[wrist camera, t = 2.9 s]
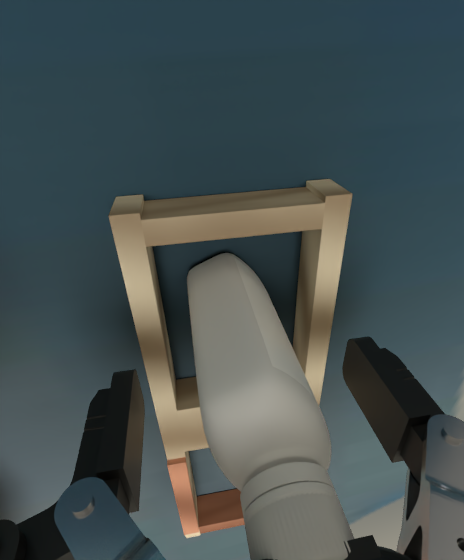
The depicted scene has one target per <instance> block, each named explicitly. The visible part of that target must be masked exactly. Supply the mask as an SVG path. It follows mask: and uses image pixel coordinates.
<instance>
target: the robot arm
mask: <svg viewBox="0 0 464 560" xmlns="http://www.w3.org/2000/svg"><path fill="white" fill-rule="evenodd" d="M343 377H344V380H345V382H346V384H347V386H348V388H349V389H350V391H351V393H352V395H353V396H354V398H355V400H356V401H357V403H358V405H359V407H360V408H361V410H362V412H363V413H364V415H365V417H366V419H367V420H368V422H369V424H370V425H371V427H372V429H373V431H374V432H375V434H376V436H377V437H378V439H379V441H380V443H381V444H382V446H383V448H384V450H385V451H386V453H387V455H388V456H389V458H390V460H391V462H392V463H394V462H399V461H405V463H406V464H407V466H408V470H407V475H406V486H405V498H404V509H403V520H402V528H401V533H400V537H399V541H398V545H397V551H394V550H391V549H388V548H384V547H379V546H377V544H376V542H375V540H374V538H373V535H371V536H366V537H361V538H357V539H352V540H348V541H347V542H348V545H349V547H350V550H351V552H350V553H349V550H348V548H347V546H346V543H345V541H344V544H345V547H346V549H347V553H348V557H347V558H346V559H344V560H464V422H463V421H462V420H460V419H458V418H456V417H453V416H450V415H446V414H445V413H444V412H443V411H442V410H441V409H440V408H439V406H438V405H437V404H436V403H435V401H434V400H433V399H432V398H431V397H430V395H429V394H428V393H427V392H426V390H425V389H424V388H423V387H422V386H421V384H420V383H419V382H418V381H417V380H416V379H414V376H413V375H412V373H411V372H410V371H409V370H407V367H406V366H405V365H404V364H403V362H402V361H401V360H400V359H399V358H398V357H397V356H396V355H395V354H393V353H392V352H390V351H389V350H387V349H386V348H382V349H380V348H379V347H378V346H377V344H376V343H375V342H374V341H373V339H372V338H371V337H361V338H354V339H349V340H348V342H347V347H346V352H345V357H344V362H343ZM144 416H145V409H144V399H143V395H142V391H141V387H140V383H139V379H138V375H137V371H136V370H135V369H134V370H127V371H120V372H114V373H113V376H112V382H111V388H109V389H102V390H99V391H98V392H97V394H96V395H95V397H94V398H93V400H92V401H91V403H90V406H89V410H88V415H87V420H86V423H85V428H84V432H83V436H82V441H81V445H80V450H79V454H78V458H77V463H76V467H75V471H74V476H73V479H72V482H71V484H70V486H69V487H68V488H67V489H66V490H65V491H64V493H63V494H62V495H61V497H60V498H59V500H58V501H57V502H56V503H55V504H54V505H52V506H51V507H50V508H48V509H46V510H44V511H43V512H41V513H39V514H37V515H35V516H33V517H31V518H29V519H27V520H25V521H23V522H21V523H19V524H17V525H16V524H15V523H14V522H12V521H10V520H0V560H165V558H164V557H163V555H162V554H161V553H160V551H159V550H158V549H157V547H156V546H155V545H154V544H153V542H152V541H151V540H150V539H149V538H146V537H145V536H144V535H143V534H142V532H141V531H140V530H139V528H138V527H137V525H136V524H135V523H134V521H133V520H132V519H131V517H130V516H129V513H130V512H136V511H139V497H140V481H141V465H142V448H143V432H144ZM262 560H273V559H262ZM275 560H276V559H275Z"/></svg>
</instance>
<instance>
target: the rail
mask: <svg viewBox="0 0 464 560" xmlns="http://www.w3.org/2000/svg"><path fill="white" fill-rule="evenodd" d="M351 200H352V193H350V192H349V191H347V190H346V189H344V188H343V187H341V186H340V185H338V184H337V183H335V182H334V181H332V180H331V179H323V180H311V181H306V187H300V188H288V189H276V190H265V191H253V192H242V193H230V194H218V195H207V196H195V197H183V198H172V199H160V200H148V201H144V197H143V195H131V196H119V197H116V198H115V201H114V203H113V206H112V208H111V211H110V214H109V220H110V224H111V228H112V232H113V236H114V241H115V245H116V249H117V253H118V257H119V261H120V265H121V270H122V274H123V278H124V282H125V286H126V290H127V295H128V299H129V303H130V307H131V311H132V315H133V319H134V324H135V328H136V332H137V336H138V340H139V344H140V349H141V353H142V357H143V361H144V365H145V369H146V373H147V378H148V382H149V386H150V390H151V394H152V398H153V403H154V407H155V411H156V415H157V419H158V423H159V427H160V432H161V436H162V440H163V444H164V448H165V452H166V457H167V466H168V470H169V474H170V478H171V482H172V486H173V490H174V495H175V499H176V503H177V507H178V511H179V515H180V519H181V523H182V527H183V531H184V535H186V538H189V537H194V536H199V535H200V534H201V533H206V532H211V531H215V530H220V529H225V528H230V527H235V526H240V525H245V523H244V518H243V512H242V506H241V500H240V494H241V491H239V490H238V489H233V490H228V491H223V492H218V493H212V494H207V495H202V496H196V490H195V485H194V479H193V473H192V468H191V462H190V457H189V451H192V450H198V449H203V448H209V445H208V443H207V439H206V436H205V432H204V428H203V423H202V417H201V411H200V403H199V395H198V386H197V378H196V377H191V378H184V379H177V380H176V378H175V372H174V366H173V361H172V355H171V349H170V344H169V338H168V333H167V327H166V321H165V316H164V310H163V304H162V299H161V293H160V287H159V282H158V276H157V271H156V265H155V259H154V254H153V248H152V246H159V245H169V244H179V243H189V242H199V241H208V240H218V239H228V238H238V237H248V236H258V235H267V234H277V233H287V232H297V231H302V241H301V253H300V265H299V277H298V290H297V302H296V314H295V326H294V338H293V350H294V352H295V354H296V357H297V359H298V361H299V363H300V365H301V368H302V370H303V372H304V374H305V376H306V379H307V381H308V383H309V385H310V388H311V390H312V392H313V394H314V396H315V399H316V401H317V403H318V405H319V403H320V397H321V391H322V384H323V378H324V372H325V365H326V359H327V353H328V346H329V340H330V334H331V327H332V321H333V315H334V308H335V302H336V295H337V289H338V283H339V276H340V270H341V264H342V257H343V251H344V245H345V238H346V232H347V226H348V219H349V213H350V206H351Z"/></svg>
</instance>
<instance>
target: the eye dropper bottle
mask: <svg viewBox="0 0 464 560" xmlns="http://www.w3.org/2000/svg"><path fill="white" fill-rule="evenodd" d="M187 288H188V299H189V309H190V319H191V329H192V339H193V349H194V359H195V368H196V378H197V386H198V395H199V403H200V411H201V417H202V423H203V428H204V432H205V436H206V439H207V443H208V445H209V448H210V450H211V453H212V455H213V457H214V459H215V461H216V462H217V464H218V466H219V467H220V469H221V470H222V472H223V473H224V475H225V476H226V477H227V479H228V480H229V481H230V482H231V483H232V484H233V485H234V486H235V487H236V488H237V489H238V490H239V491H241V494H240V500H241V506H242V512H243V518H244V523H245V529H246V535H247V541H248V546H249V552H250V558H251V560H262V559H273V560H275V559H276V560H344V559H346V558H347V557H348V553H347V549H346V547H345V544H344V541H345V543H346V546H347V548H348V550H349V553H350V552H351V550H350V547H349V545H348V542H347V541H348V540H352V539H354V537H353V534H352V532H351V529H350V527H349V524H348V522H347V519H346V517H345V514H344V512H343V509H342V507H341V504H340V502H339V499H338V497H337V494H336V492H335V489H334V487H333V484H332V482H331V479H330V477H329V474H328V472H327V470H328V468H329V464H330V459H331V441H330V435H329V431H328V428H327V425H326V422H325V419H324V417H323V415H322V412H321V410H320V408H319V405H318V403H317V401H316V399H315V396H314V394H313V392H312V390H311V388H310V385H309V383H308V381H307V379H306V376H305V374H304V372H303V370H302V368H301V365H300V363H299V361H298V359H297V357H296V354H295V352H294V350H293V348H292V346H291V343H290V341H289V339H288V337H287V334H286V332H285V330H284V328H283V326H282V323H281V321H280V319H279V317H278V315H277V312H276V310H275V308H274V306H273V304H272V301H271V299H270V297H269V295H268V293H267V291H266V289H265V287H264V285H263V283H262V282H261V280H260V279H259V277H258V276H257V275H256V274H255V272H254V271H253V270H252V269H251V268H250V267H249V266H248V265H247V264H246V263H245V262H243V261H242V260H241V259H240V258H238V257H237V256H235V255H234V254H231V253H223V254H219V255H217V256H215V257H213V258H211V259H209V260H207V261H205V262H203V263H201V264H199V265H197V266H195V267H193V268H192V269H191V270H190V271H189V273H188V276H187Z"/></svg>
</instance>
